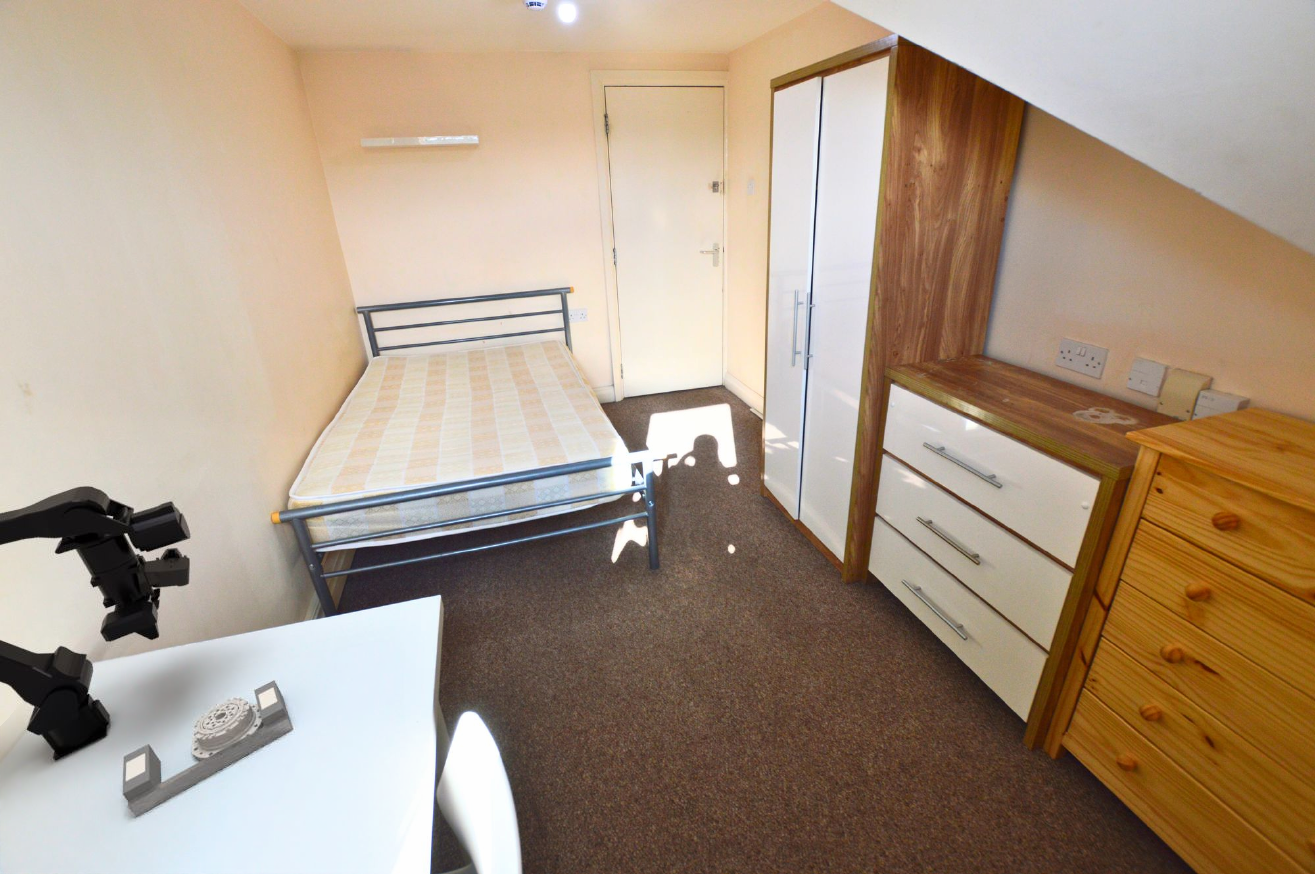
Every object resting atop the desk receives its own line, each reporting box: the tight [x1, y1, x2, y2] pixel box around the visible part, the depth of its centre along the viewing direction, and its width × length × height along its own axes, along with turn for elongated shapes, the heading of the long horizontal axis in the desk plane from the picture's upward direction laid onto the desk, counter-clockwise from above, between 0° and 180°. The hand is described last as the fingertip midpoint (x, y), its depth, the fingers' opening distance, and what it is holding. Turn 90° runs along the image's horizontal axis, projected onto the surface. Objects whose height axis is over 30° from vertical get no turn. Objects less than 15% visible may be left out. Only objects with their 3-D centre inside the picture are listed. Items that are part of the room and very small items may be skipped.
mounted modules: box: [122, 679, 292, 802], centre depth 89 cm, size 20×8×4 cm, turn 130°
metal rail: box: [127, 715, 294, 818], centre depth 86 cm, size 20×1×2 cm, turn 131°
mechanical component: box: [190, 697, 265, 762], centre depth 92 cm, size 10×4×10 cm
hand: (155, 637), depth 97 cm, fingers closed
